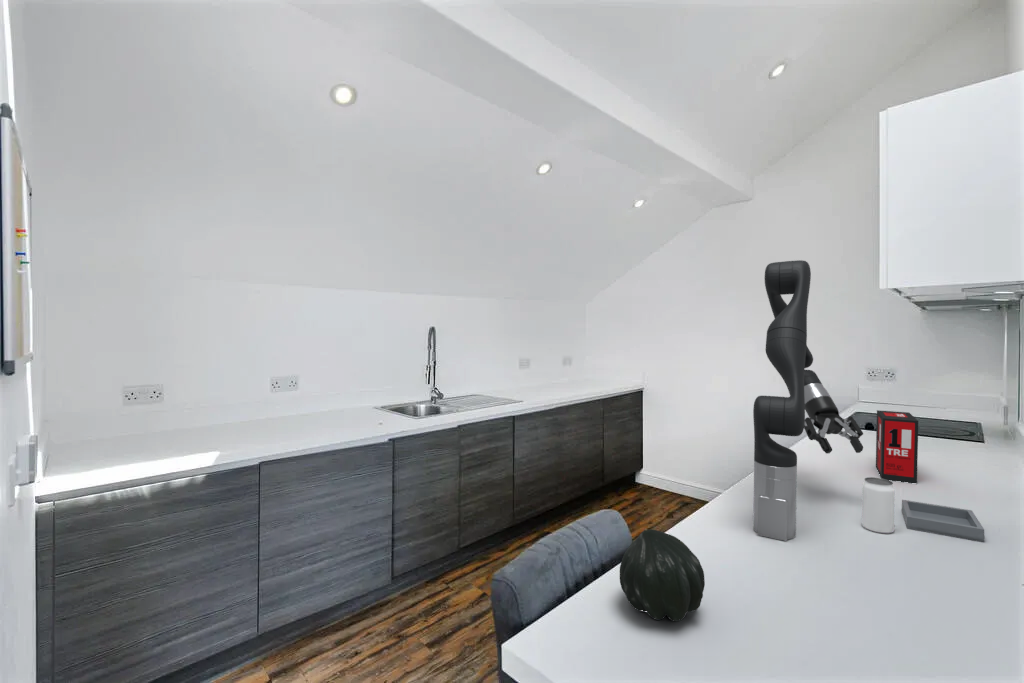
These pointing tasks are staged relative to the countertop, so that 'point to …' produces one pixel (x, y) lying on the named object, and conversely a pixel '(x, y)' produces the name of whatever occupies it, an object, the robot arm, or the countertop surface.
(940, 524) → the tray
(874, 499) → the can
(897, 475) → the cleaning product box
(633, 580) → the squash
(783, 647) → the countertop surface
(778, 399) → the robot arm
